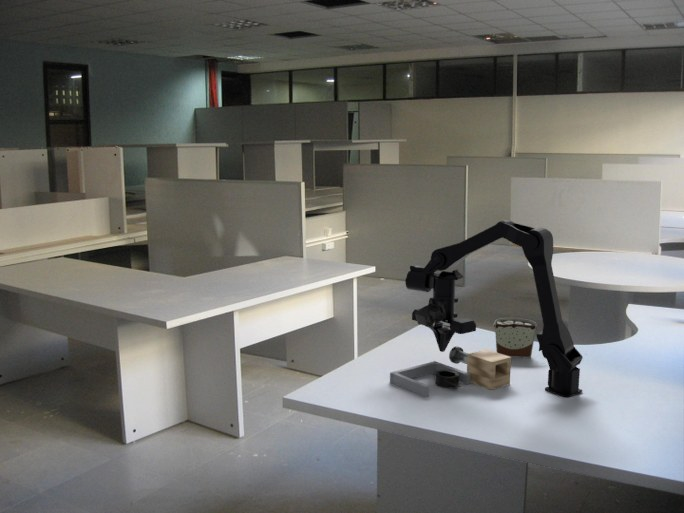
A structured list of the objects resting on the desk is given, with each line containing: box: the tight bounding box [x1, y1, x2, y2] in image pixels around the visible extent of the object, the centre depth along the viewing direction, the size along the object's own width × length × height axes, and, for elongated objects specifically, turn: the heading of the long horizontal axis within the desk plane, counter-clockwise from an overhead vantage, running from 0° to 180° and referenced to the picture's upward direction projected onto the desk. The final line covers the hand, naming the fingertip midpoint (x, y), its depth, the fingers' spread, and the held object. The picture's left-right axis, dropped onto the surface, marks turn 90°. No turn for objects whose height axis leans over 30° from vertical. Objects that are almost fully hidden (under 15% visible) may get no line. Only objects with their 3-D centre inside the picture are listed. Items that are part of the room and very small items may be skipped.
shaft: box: [448, 345, 470, 365], centre depth 178 cm, size 12×4×4 cm, turn 37°
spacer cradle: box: [389, 360, 472, 398], centre depth 174 cm, size 13×16×2 cm
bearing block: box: [466, 348, 512, 391], centre depth 174 cm, size 8×7×7 cm
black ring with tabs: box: [431, 370, 462, 389], centre depth 173 cm, size 8×10×3 cm
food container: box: [492, 317, 539, 359], centre depth 198 cm, size 12×6×10 cm, turn 84°
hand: (442, 351), depth 187 cm, fingers closed
